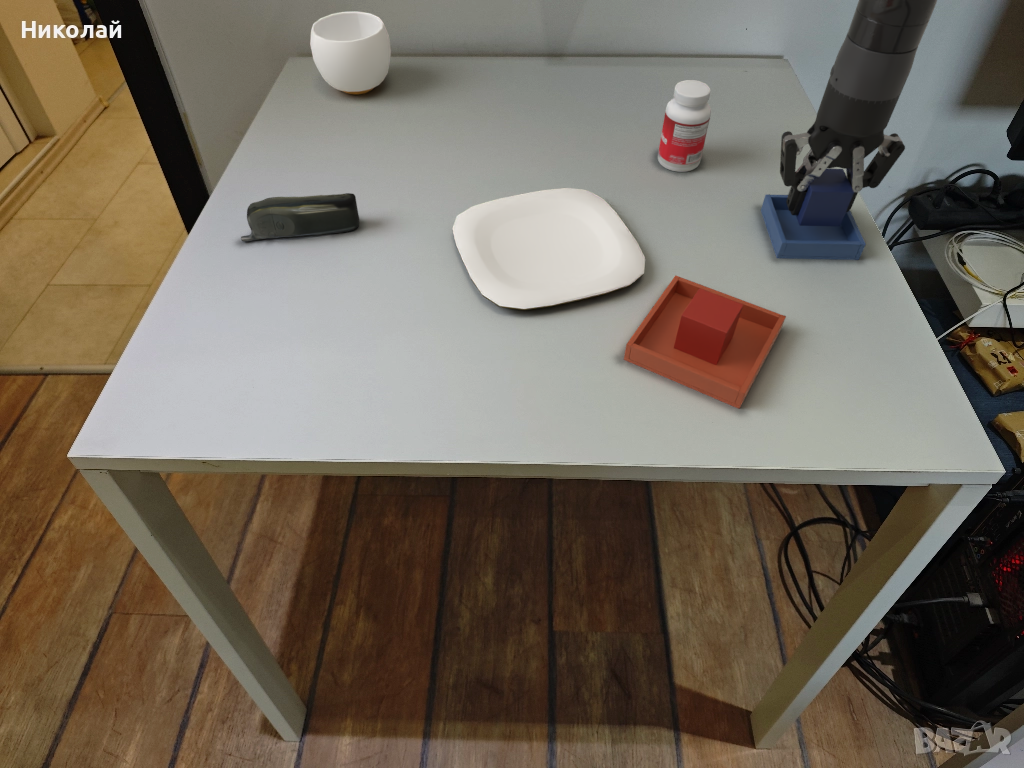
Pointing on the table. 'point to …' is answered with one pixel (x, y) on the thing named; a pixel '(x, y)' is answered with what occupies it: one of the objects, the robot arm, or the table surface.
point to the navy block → (826, 199)
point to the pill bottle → (685, 126)
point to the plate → (547, 248)
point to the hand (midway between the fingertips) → (816, 211)
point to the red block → (707, 326)
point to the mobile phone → (302, 216)
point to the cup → (351, 50)
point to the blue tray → (809, 234)
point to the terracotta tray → (717, 381)
